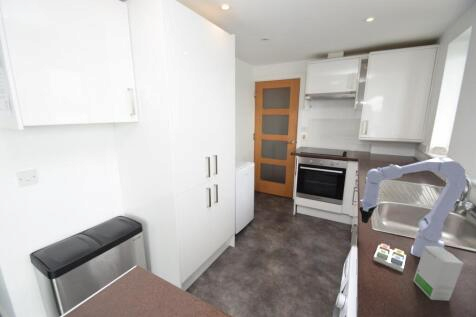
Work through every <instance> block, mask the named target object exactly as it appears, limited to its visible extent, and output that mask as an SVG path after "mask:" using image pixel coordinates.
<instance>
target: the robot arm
mask: <svg viewBox="0 0 476 317" xmlns="http://www.w3.org/2000/svg"><path fill="white" fill-rule="evenodd" d="M422 171H423V172H424V171H429V172H433V173H436V174H438V173H440V174H442V176H443V177H444V179H445V180H446V181H447V183H446V184H445V186H444V188H443V190H442V191H441V193H440V195H439V196H438V198H437V200H436V201H435V203H434V205H433V207H432V208H431V210H430V211H429V213H427V214H426V215H424V217H423V218H422V219H419V221H418V223H417V226H418V228H419V229H418V230H417V231H416V234H415V239H414V243H413V245H411V249H410V255H413V256H414V257H417V258H420V259H421V255H422V252H423V249H424V246H435V247H442V248H444V249H445V241H443V240H441V239H442V236H443V234H442V231H443V229H444V222H445V221H446V219H447V217H448V216H449V214H450V212H451V211H452V209H453V208H454V206H455V204H456V203H457V202H458V200H459V199H460V196H462V194H463V192H464V190H465V189H466V187H467V185H468V181H467V177H466V173H465V172H466V169H465V168H464V167H463V166H462V164H461V163H460V162H457V161H455V160H454V159H452V158H451V157H447V156H442V157H439V158H438V157H436V158H434V157H433V158H431V159H426V160H422V161H418V162H414V163H410V164H407V165H402V166H399V165H397V164H389V166H383V167H377V168H371V169H370V170H368V171H367V173H366V175H367V176H366V177H367V178H366V181H365V182H366V183H365V186H364V191H363V197H362V199H360V200H359V202H360V203H361V204H362V207H361V206H360V207H359V212H360V216H361V223H363V224H368V223H369V219H371V217H372V216H373V213H374V211H375V210H376V208H377V207H378V197H379V192H380V188H381V186H380V184H381V182H382V181H387V180H393V179H398V178H402V176H403V175H404V174H410V173H417V172H422Z"/></svg>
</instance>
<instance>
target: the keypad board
mask: <svg viewBox="0 0 476 317" xmlns="http://www.w3.org/2000/svg"><path fill="white" fill-rule="evenodd" d="M380 246H381V244H378V246H377V248H376V251H375V253H374V255H373V260H372V261H373V262H376V263H379V265H380V264H381V265H382V266H385V267H388V268H390V269H391V270H395V271H397V272H399V273H402V274H403V272H404V270H405V262H406V258H407V254H405V253H404V255H403V260H402V264H401V266H400V265H397V264H395V263H393V262H392V257H393V254H394V250H395V249H392V248H390V249H389V252H388V255H387V259H386V260H385V259H383V258H380V257H378V256H377V255H378V251H379V248H380Z"/></svg>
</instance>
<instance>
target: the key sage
mask: <svg viewBox="0 0 476 317" xmlns="http://www.w3.org/2000/svg"><path fill="white" fill-rule="evenodd" d="M387 255H388V251H385V250H383V249H380V248H379V251H378V255H377V256H378V257H380V258H383V259H385V260H386V259H387Z"/></svg>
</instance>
